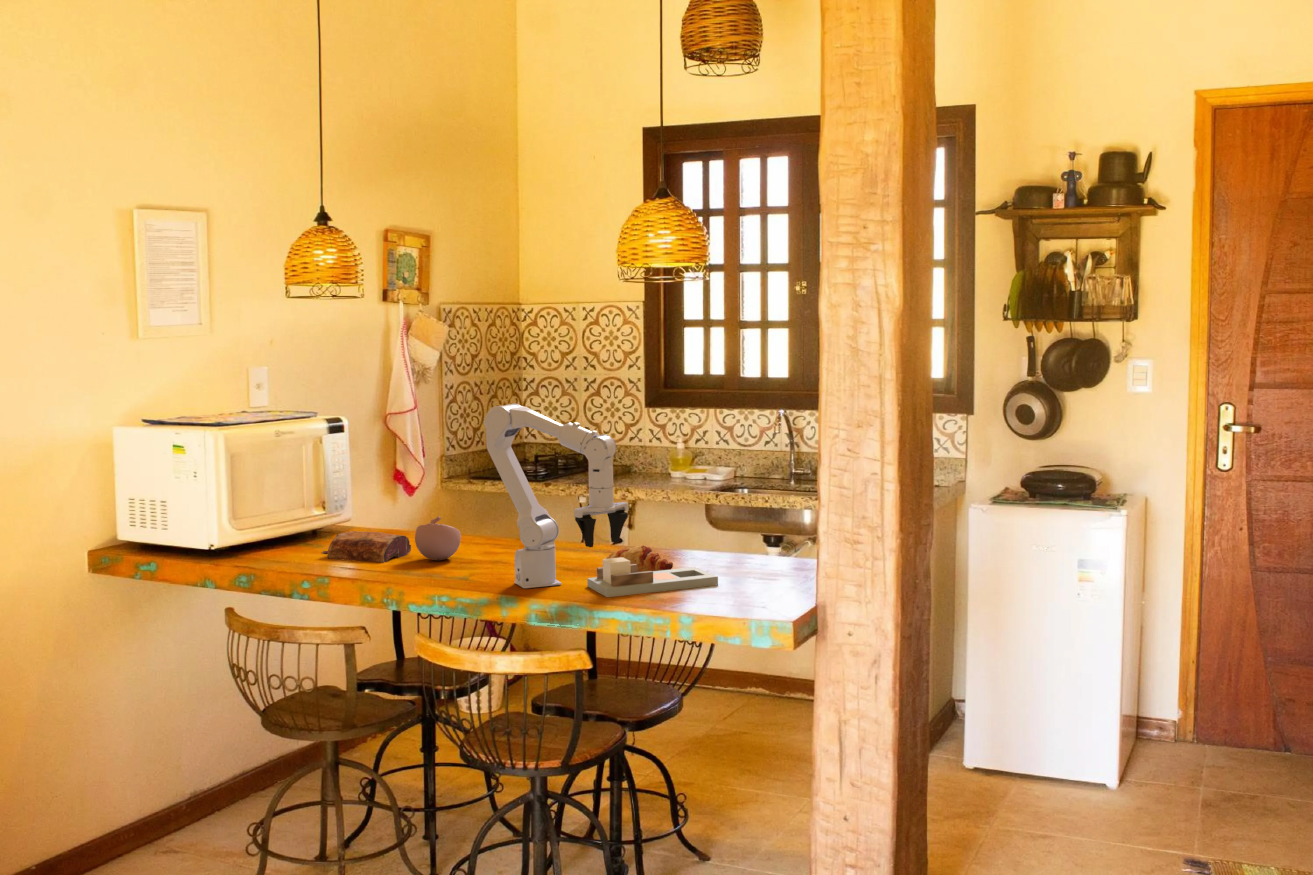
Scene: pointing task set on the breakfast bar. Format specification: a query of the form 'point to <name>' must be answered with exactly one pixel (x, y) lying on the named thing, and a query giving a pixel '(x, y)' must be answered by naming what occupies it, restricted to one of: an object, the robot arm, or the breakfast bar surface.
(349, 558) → the cured meat
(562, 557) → the breakfast bar surface
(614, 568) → the cube
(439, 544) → the pink apple
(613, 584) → the parallel rails
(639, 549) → the croissant
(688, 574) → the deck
